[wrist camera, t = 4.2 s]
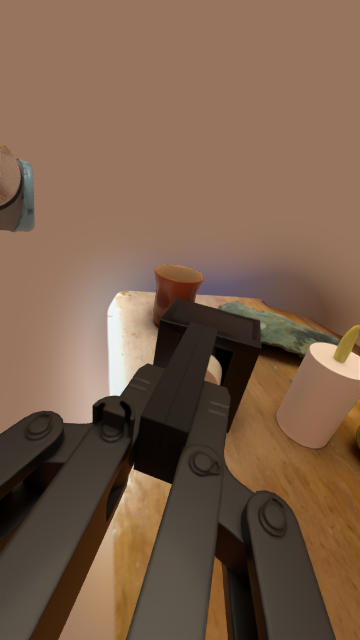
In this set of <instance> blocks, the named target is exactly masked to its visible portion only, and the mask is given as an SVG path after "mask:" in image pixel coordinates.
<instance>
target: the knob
mask: <svg viewBox="0 0 360 640" xmlns="http://www.w3.org/2000/svg"><path fill="white" fill-rule="evenodd" d="M215 355H216V347H214V346H213V350H212V354H211V357H210V361H209V364H208V368H207V372H206V375H205V379H204V380H205V381H208V382H211V383H214V384H217V385H220V382H221V377H222V368H221V366H220V364H219V362H218V361H217V359H216V358H215Z"/></svg>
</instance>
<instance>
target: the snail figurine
mask: <svg viewBox="0 0 360 640" xmlns="http://www.w3.org/2000/svg"><path fill="white" fill-rule="evenodd" d="M356 440H357V444H358V447H359V449H360V426H359V427H358V429H357V433H356Z"/></svg>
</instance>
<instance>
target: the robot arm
mask: <svg viewBox="0 0 360 640" xmlns="http://www.w3.org/2000/svg"><path fill="white" fill-rule="evenodd" d="M34 223H35V222H34V189H33V168H32V166H31V164H29V163H28V162H24V161H22V160H21V159H15V157H14V155H13V154H12V153H11V151H10V150H9V149H8V148H7V147H6V146H5V145H4V144H3V143H2V142H1V141H0V230H9V231H11V232H17V231H24V232H25V231H26V232H28V231H31V230H32V229H33V228H34V225H35V224H34ZM217 332H218V329H215V328H212V327H208V326H205V325H201V324H197V323H194V322H190V323H189V325H188V327H187V329H186V331H185V333H184V335H183V337H182V339H181V340H180V342H179V344H178V346H177V348H176V350H175V352H174V354H173V356H172V357H171V359H170V361H169V363H168V365H167V367H166V369H164V368H161V367H158V366H155V365H151V364H146V365H144V366H143V367H141V368H139V369H138V371H137V372H136V374H135V375H134V376H133V379H131V381H130V382H129V384H128V386H127V387H126V388H125V390H124V391H123V392H122V394H121V395H120V396H108V397H105V398H102V399H100V400H98V401H97V402H96V403H95V404H94V405H93V422H92V423H87V424H74V423H63V419H62V418H61V417H60V415H58V414H57V413H54V412H52V411H41V412H36V413H33V414H31V415H29V416H27V417H25V418H23V419H22V420H20V421H19V422H18V423H16V424H15V425H13V426H12V427H10V428H9V429H7V430H6V431H4V432H3V433H1V434H0V640H58V639H59V637H60V634H61V632H62V630H63V627H64V625H65V623H66V621H67V619H68V617H69V614H70V612H71V610H72V607H73V605H74V603H75V601H76V599H77V596H78V594H79V592H80V590H81V587H82V585H83V583H84V581H85V578H86V576H87V574H88V571H89V569H90V567H91V565H92V563H93V560H94V558H95V556H96V554H97V551H98V549H99V547H100V545H101V542H102V540H103V538H104V536H105V533H106V531H107V529H108V527H109V525H110V522H111V520H112V518H113V516H114V513H115V511H116V509H117V507H118V504H119V502H120V500H121V498H122V495H123V493H124V491H125V489H126V486H127V482H128V476H129V473H130V471H131V469H132V467H133V465H134V470H137V471H140V472H142V473H145V474H147V475H150V476H152V477H155V478H157V479H160V480H162V481H165V482H168V483H170V484H172V486H171V489H170V492H169V496H168V499H167V503H166V506H165V509H164V513H163V516H162V519H161V523H160V526H159V530H158V533H157V536H156V540H155V543H154V546H153V550H152V553H151V557H150V560H149V563H148V567H147V570H146V573H145V577H144V580H143V584H142V587H141V590H140V594H139V597H138V600H137V604H136V607H135V611H134V614H133V617H132V621H131V624H130V627H129V631H128V634H127V638H126V640H205V633H206V625H207V616H208V608H209V599H210V591H211V582H212V574H213V565H214V557H216V558H217V559H219V560H220V561H221V562H222V573H223V585H224V597H225V608H226V620H227V632H228V640H336V638H335V635H334V632H333V629H332V626H331V623H330V619H329V616H328V613H327V610H326V607H325V604H324V601H323V598H322V595H321V592H320V589H319V585H318V582H317V579H316V576H315V573H314V570H313V567H312V564H311V561H310V558H309V554H308V551H307V548H306V545H305V542H304V539H303V536H302V533H301V530H300V527H299V524H298V521H297V519H296V517H295V515H294V512H293V510H292V509H291V508H290V507H289V505H288V504H287V503H286V502H285V501H284V500H283V499H282V498H280V497H279V496H278V495H276V494H275V493H272V492H269V491H266V490H265V491H257V492H255V493H254V492H252V491H251V490H250V489H248V488H247V487H246V486H244V485H243V484H242V483H240V482H239V481H238V480H237V479H236V478H235V477H234V476H233V475H232V474H231V472H230V471H229V469H228V467H227V465H226V463H225V459H224V447H225V439H226V431H227V423H228V415H229V407H230V399H231V397H230V395H229V392H228V389H227V387H224V386H220V385H217V384H214V383H211V382H208V381H205V380H204V379H205V375H206V372H207V368H208V364H209V361H210V357H211V354H212V350H213V346H214V343H215V339H216V336H217ZM134 462H135V463H134Z"/></svg>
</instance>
